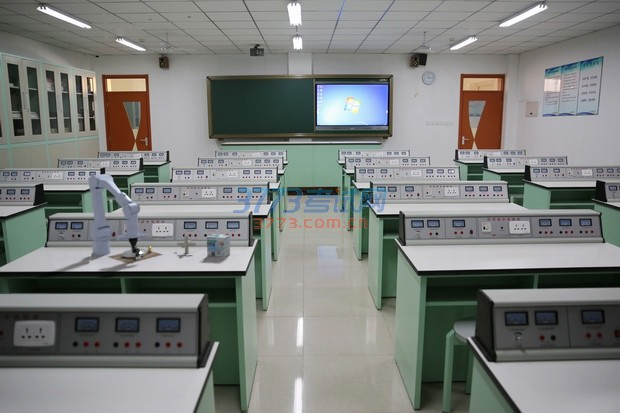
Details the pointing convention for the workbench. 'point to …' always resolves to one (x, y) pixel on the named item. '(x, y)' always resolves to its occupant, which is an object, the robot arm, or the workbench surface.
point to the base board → (131, 260)
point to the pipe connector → (186, 243)
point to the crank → (136, 255)
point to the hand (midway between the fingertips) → (134, 252)
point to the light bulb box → (218, 245)
